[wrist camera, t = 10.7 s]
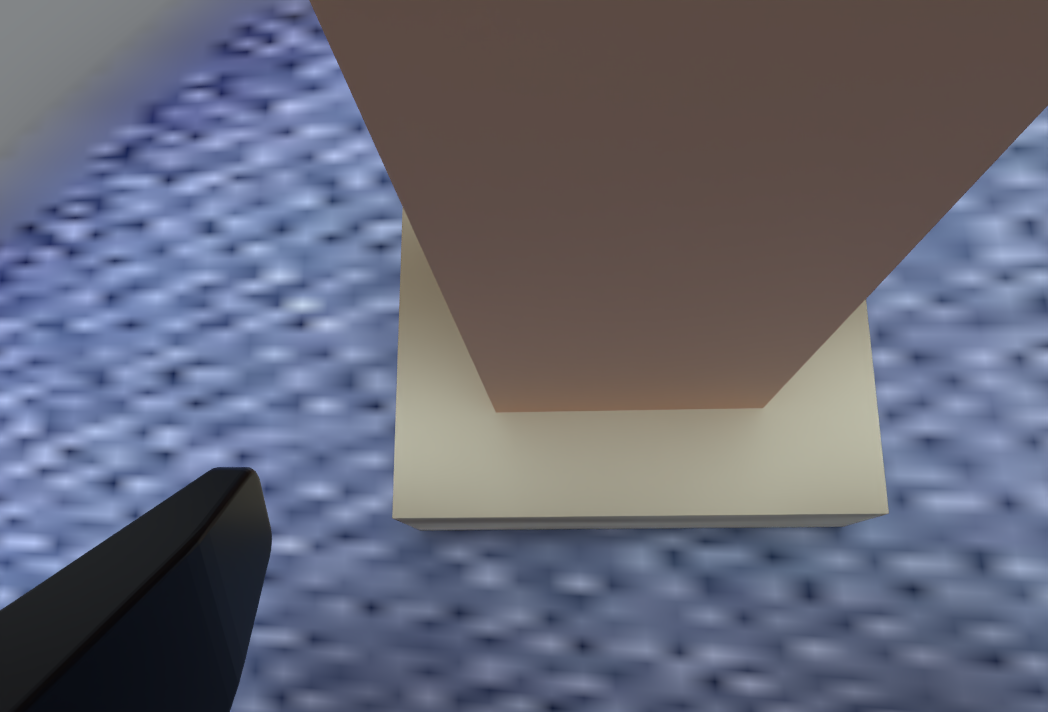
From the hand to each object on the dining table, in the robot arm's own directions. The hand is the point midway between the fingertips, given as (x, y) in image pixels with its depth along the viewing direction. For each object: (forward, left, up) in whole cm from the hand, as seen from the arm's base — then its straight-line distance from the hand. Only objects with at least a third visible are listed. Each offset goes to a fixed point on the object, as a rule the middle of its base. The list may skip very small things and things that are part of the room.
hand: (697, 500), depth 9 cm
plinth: (+2, +4, -11) cm, 12 cm away
